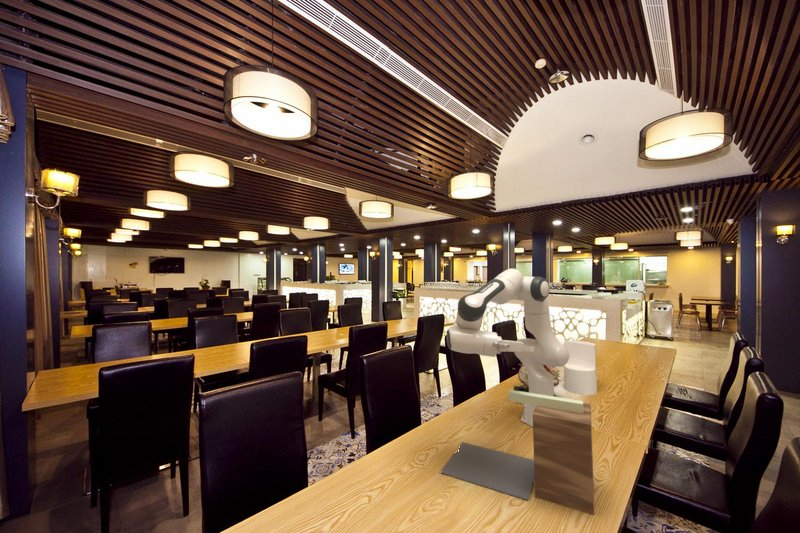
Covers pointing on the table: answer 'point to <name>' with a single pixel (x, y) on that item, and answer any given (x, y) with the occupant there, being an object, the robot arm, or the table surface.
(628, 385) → the table surface
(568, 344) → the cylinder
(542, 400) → the stick
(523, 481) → the mat
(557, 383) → the rose bouquet
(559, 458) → the wooden pedestal block
